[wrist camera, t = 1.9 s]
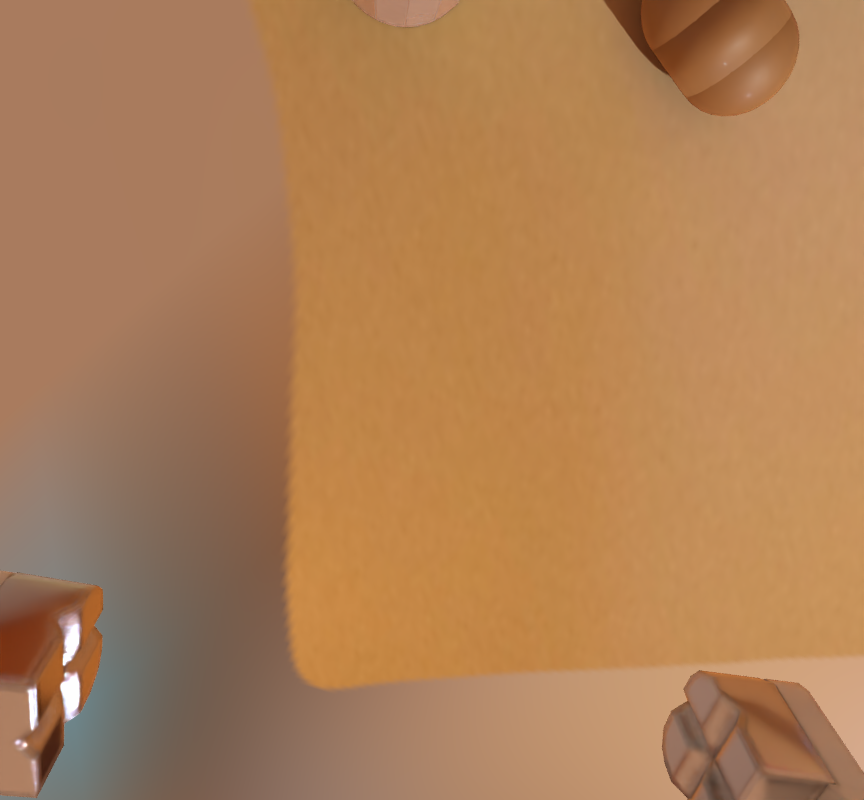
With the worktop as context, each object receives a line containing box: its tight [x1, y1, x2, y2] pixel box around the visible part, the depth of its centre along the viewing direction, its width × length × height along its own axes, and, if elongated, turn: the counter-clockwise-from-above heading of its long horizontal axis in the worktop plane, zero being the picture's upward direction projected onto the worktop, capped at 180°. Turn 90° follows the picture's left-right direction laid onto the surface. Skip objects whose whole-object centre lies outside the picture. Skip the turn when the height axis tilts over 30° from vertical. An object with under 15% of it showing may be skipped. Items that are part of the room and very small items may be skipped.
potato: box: [641, 0, 799, 116], centre depth 27 cm, size 7×5×5 cm
